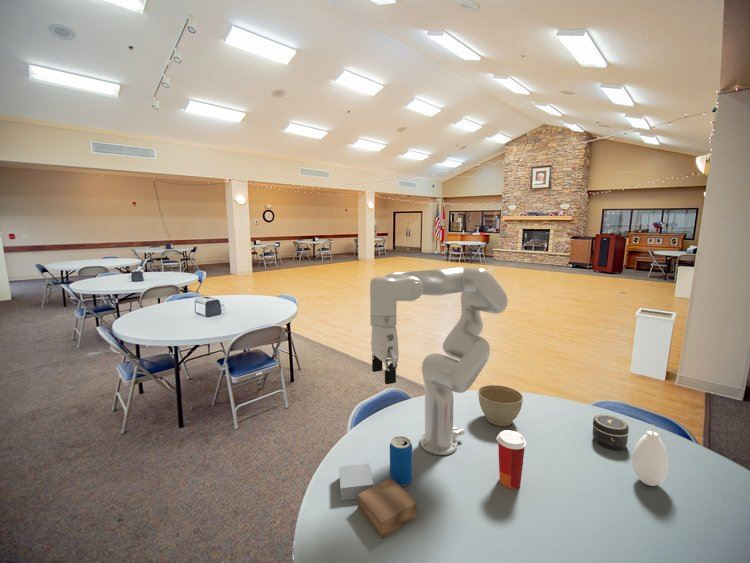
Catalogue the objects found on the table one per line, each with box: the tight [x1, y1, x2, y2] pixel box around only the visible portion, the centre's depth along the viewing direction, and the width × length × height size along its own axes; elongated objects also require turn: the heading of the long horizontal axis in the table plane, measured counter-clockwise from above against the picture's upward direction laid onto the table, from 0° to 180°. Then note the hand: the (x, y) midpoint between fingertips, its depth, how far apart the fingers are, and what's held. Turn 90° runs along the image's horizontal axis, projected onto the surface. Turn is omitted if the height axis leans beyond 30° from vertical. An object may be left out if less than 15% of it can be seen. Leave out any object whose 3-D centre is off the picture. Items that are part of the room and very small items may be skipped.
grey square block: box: [338, 463, 375, 502], centre depth 97 cm, size 9×9×4 cm
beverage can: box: [389, 435, 413, 487], centre depth 99 cm, size 6×6×12 cm
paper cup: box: [496, 429, 527, 490], centre depth 97 cm, size 8×8×14 cm
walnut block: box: [356, 477, 418, 539], centre depth 88 cm, size 11×11×4 cm
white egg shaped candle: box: [631, 423, 670, 487], centre depth 96 cm, size 8×8×18 cm
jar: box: [592, 414, 630, 451], centre depth 116 cm, size 10×10×8 cm
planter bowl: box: [477, 384, 524, 427], centre depth 131 cm, size 16×16×11 cm
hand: (383, 376), depth 100 cm, fingers open, 9 cm apart
